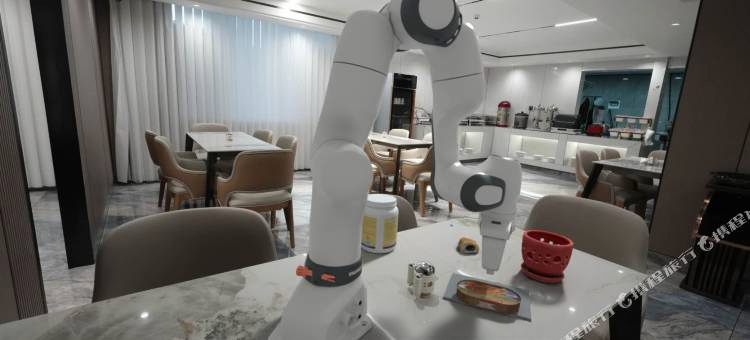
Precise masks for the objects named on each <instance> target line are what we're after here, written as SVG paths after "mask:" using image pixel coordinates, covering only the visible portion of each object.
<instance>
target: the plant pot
mask: <svg viewBox="0 0 750 340" xmlns="http://www.w3.org/2000/svg"><path fill="white" fill-rule="evenodd" d="M542 239H543V240H542ZM574 245H575V244H574V242H573V241H572V240H571V239H570V238H567V237H566V236H563V235H561V234H557V233H555V232H551V231H550V232H549V231H546V230H538V229H537V230H536V229H534V230H532V229H531V230H530V229H529V230H524V232H523V234H522V238H521V258H522V260H523V262H522V263H521V264H520V268H521V270H522V272H523V273H524V274H525V275H527V276H528V277H529V278H531V279H533V280H536V281H538V282H542V283H543V282H544V283H553V284H555V283H559V282H561V281H563V280H564V278H565V276H566V274H565V273H564V271H565V270H566V269H567V267H568V265H569V263H570V261H571V258H572V255H573V251H574Z"/></svg>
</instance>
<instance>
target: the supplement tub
mask: <svg viewBox="0 0 750 340" xmlns="http://www.w3.org/2000/svg"><path fill="white" fill-rule="evenodd" d="M397 204H398V201H397V198H396V197H395V196H393V195H390V194H384V193H383V194H382V193H372V194H368V199H367V204H366V208H365V212H364V217H363V224H362V240H361V249H363V250H364V251H366V252H368V253H372V254H386V253H390V252H392V251H394V250H395V249H396V247H397V239H398V225H399V223H398V222H399V214H400V213H399V208H398V207H397Z"/></svg>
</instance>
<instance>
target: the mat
mask: <svg viewBox="0 0 750 340" xmlns="http://www.w3.org/2000/svg"><path fill="white" fill-rule="evenodd" d="M450 276H451V277H450V279H449V282H448V284H447V286H446V288H445V292H444V294H443V299H444V300H448V301H453V302H456V303H460V304H464V305H468V306H471V307H473V306H472V305H469V304H466V303H464V302H462V301H461V300H460V299H459V298H458V297H457V294H456V291H457V283H458V282H459V281H461V280H476V281H480V282H485V283H489V284H493V285H498V286H502V287H506V288H509V289H511V290H513V291H515V292H516V293H518V294H519V295H520V297H521V302H520V308H519V310H518V311H517V312H515V313H511V314H506V313H500V312H496V311H492V310H488V309H486V310H487V311H491V312H495V313H498V314H503V315H506V316H511V317H515V318H518V319H523V320H526V321H530V322H531V321H532V311H531V299H530V290H529V289H526V288H521V287H517V286H513V285H508V284H505V283H500V282H494V281H491V280H486V279H481V278H478V277H473V276H468V275H465V274H460V273H456V272H452V274H451V275H450ZM474 307H475V308H477V307H476V306H474ZM478 308H479V309H481V308H480V307H478ZM482 309H484V308H482ZM484 310H485V309H484Z"/></svg>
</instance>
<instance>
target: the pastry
mask: <svg viewBox="0 0 750 340" xmlns="http://www.w3.org/2000/svg"><path fill="white" fill-rule="evenodd" d="M457 245H458V248H459V252H461V253H464V254H476V253H478V252H480V251H479V250H480V245H479V244H478V243H477V241H476V240H473V238H467V237H461V238H459V241H458V242H457Z"/></svg>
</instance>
